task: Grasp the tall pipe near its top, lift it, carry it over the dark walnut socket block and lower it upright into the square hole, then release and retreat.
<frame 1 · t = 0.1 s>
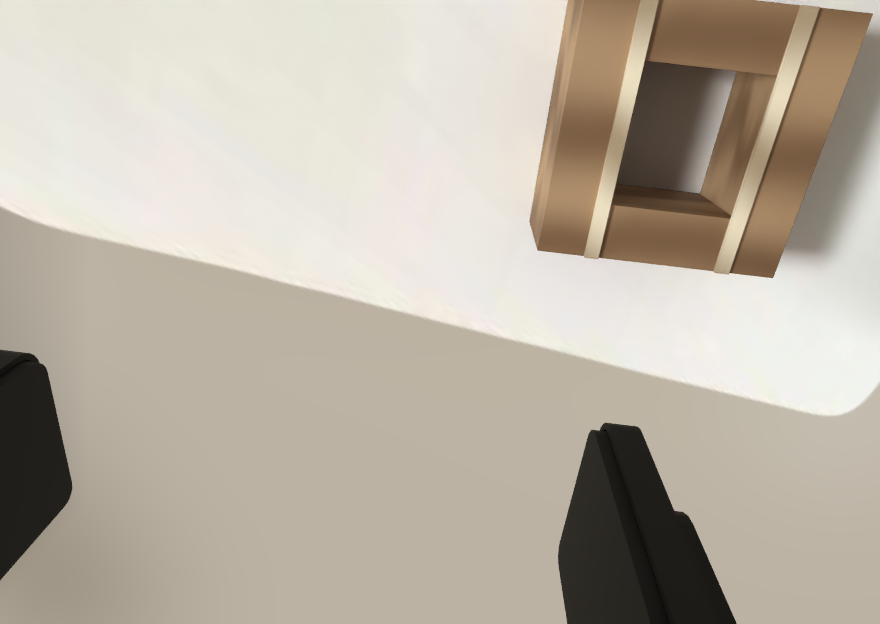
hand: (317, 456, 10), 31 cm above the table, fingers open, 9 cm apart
socket block: (658, 127, 37), on the table
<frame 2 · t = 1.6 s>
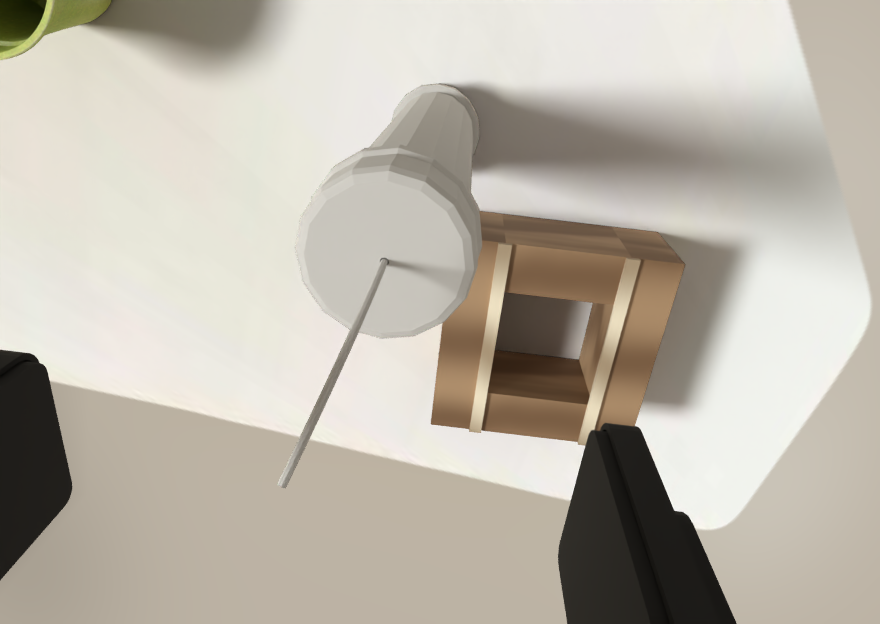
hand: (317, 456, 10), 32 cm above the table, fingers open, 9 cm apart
socket block: (538, 310, 44), on the table
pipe: (434, 130, 38), on the table
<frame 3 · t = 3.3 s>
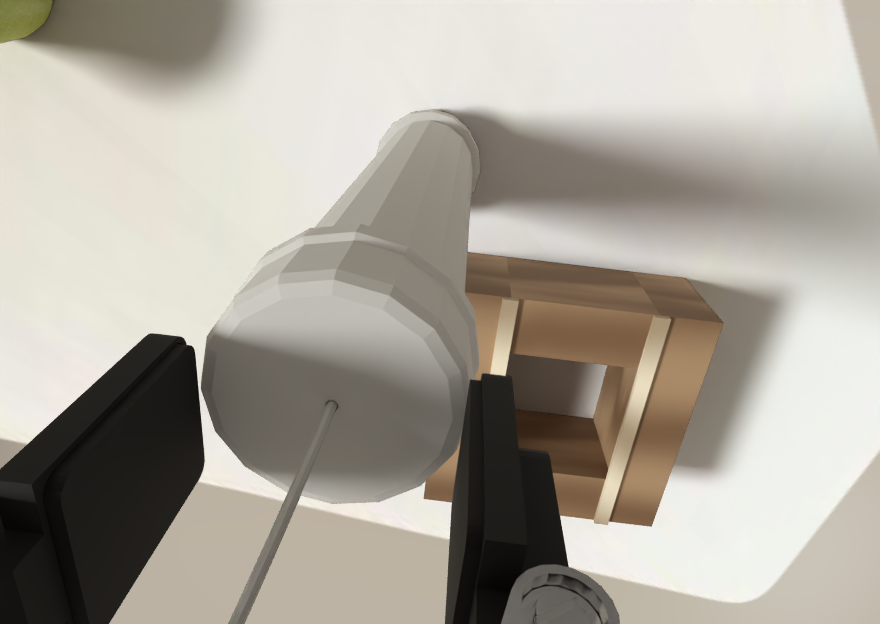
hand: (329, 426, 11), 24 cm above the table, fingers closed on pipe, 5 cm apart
socket block: (547, 364, 38), on the table
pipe: (428, 162, 33), on the table, touching gripper
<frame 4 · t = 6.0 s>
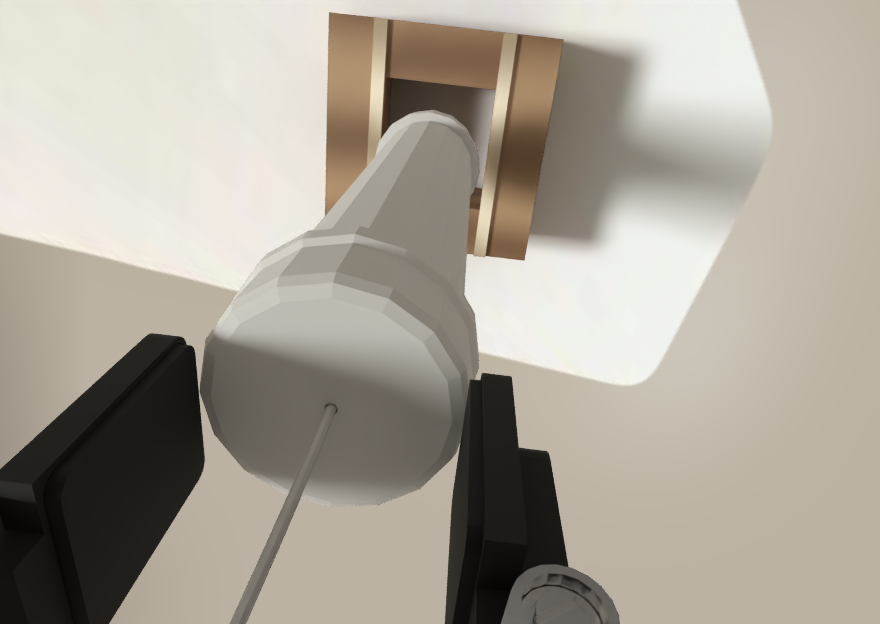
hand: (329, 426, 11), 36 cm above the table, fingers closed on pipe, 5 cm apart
socket block: (439, 132, 43), on the table
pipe: (427, 163, 33), point 11 cm above the table, touching gripper
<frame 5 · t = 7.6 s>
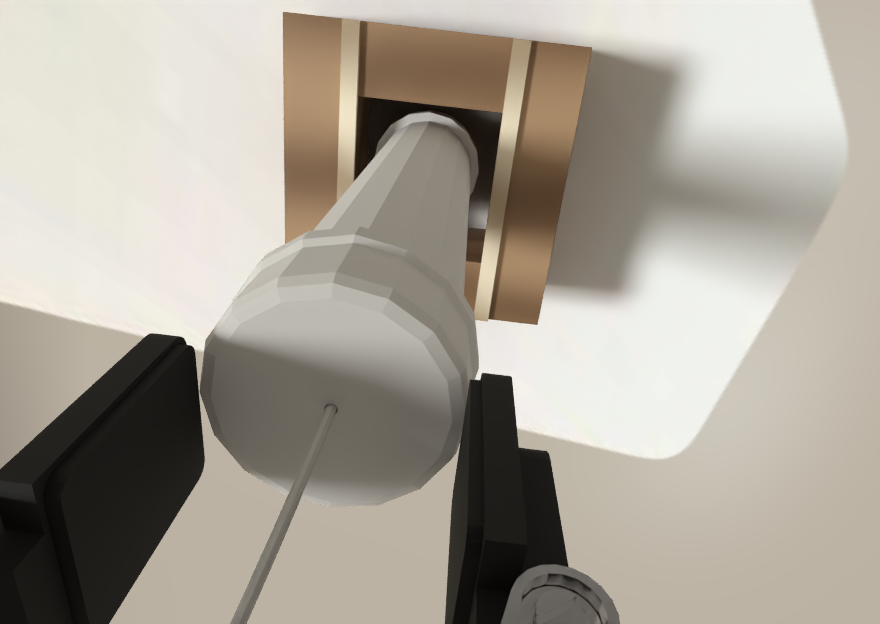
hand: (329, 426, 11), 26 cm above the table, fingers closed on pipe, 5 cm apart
socket block: (431, 161, 35), on the table
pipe: (427, 163, 33), point 2 cm above the table, touching gripper
when the fingers open (26 cm above the table, at t = 8.7 s): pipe drops 2 cm, resting in socket block.
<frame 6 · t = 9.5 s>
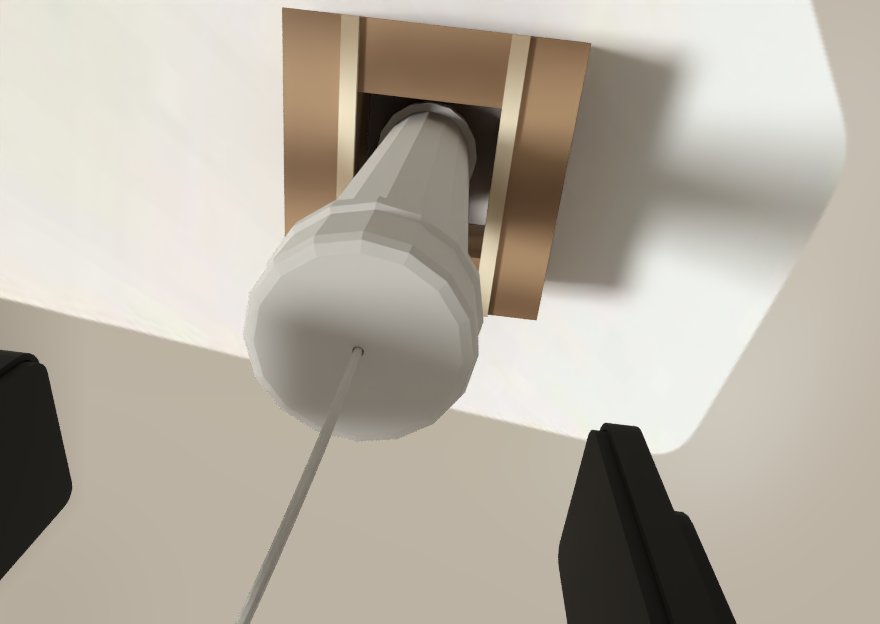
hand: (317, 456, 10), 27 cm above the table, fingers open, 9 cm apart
socket block: (430, 156, 35), on the table
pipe: (427, 151, 35), resting in socket block
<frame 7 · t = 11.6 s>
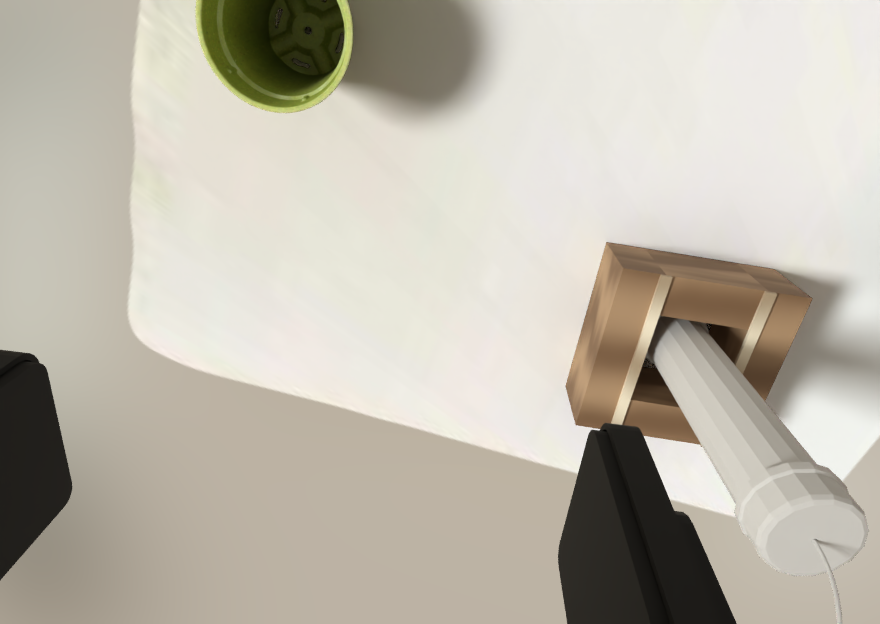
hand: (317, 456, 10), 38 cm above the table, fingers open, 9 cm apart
socket block: (664, 330, 51), on the table
plant pot: (312, 31, 43), on the table
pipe: (661, 327, 51), resting in socket block
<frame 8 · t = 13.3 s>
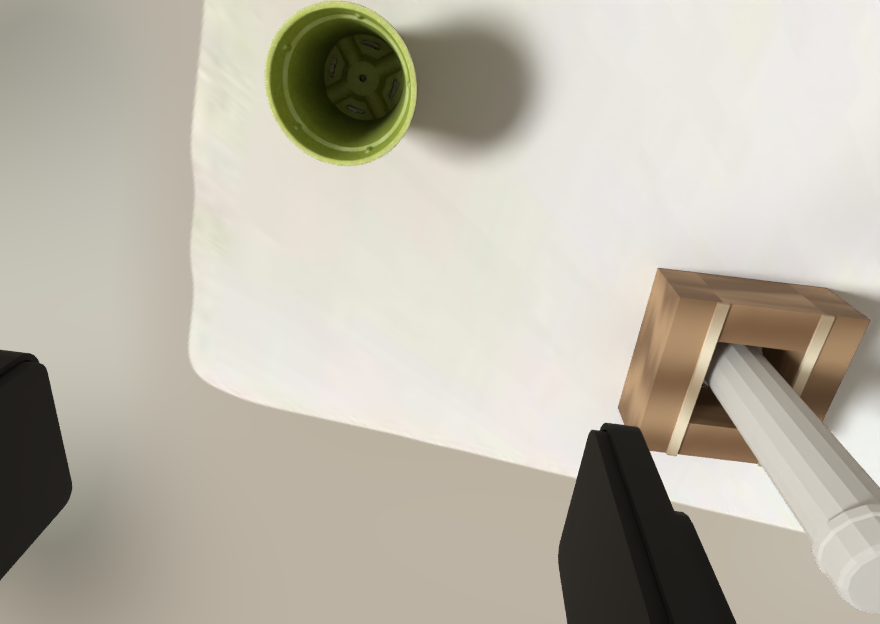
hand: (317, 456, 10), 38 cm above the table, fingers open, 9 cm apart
socket block: (715, 351, 51), on the table
plant pot: (365, 78, 44), on the table
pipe: (713, 347, 51), resting in socket block
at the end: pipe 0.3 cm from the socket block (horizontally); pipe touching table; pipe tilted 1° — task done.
